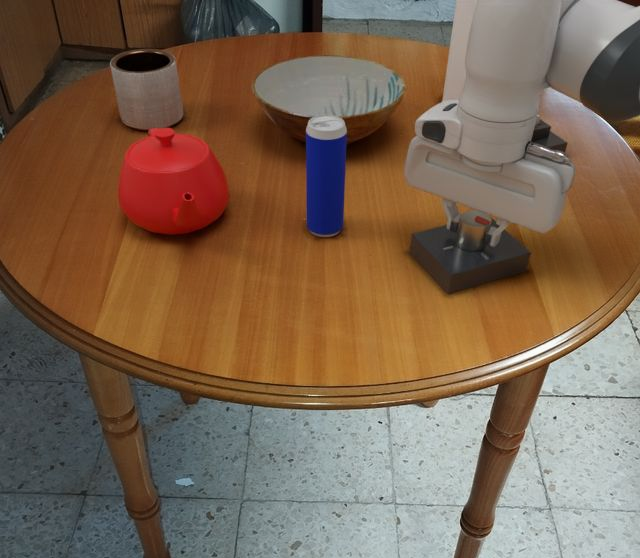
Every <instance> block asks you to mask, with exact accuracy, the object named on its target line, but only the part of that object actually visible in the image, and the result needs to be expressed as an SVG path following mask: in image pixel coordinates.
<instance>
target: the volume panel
mask: <svg viewBox="0 0 640 558" xmlns="http://www.w3.org/2000/svg"><path fill="white" fill-rule="evenodd" d="M496 222H497V220H495V219H494V218H492V217H491V225H490V228H491V227H495V228H498V227H499V226H500V225H497V224H496ZM446 227H447V224H445V225H440V226H438V227H433V228H428V229H424V230H421V231H416V232H413V233H411V238H410V244H409V254H410V255H411V257H412V258H414V259H415V261H416V262H417V263H418V264H419V265H420V266H421V267H422V268H423V270H424V271H425V272H427V274H428V275H429V276H430V277H431V278H432V279H433V280H434V281H435V282H436V283H437V284H438V286H440V287H441V288H442V289H443V291H444V292H446V294H447V295H450V294H453V293H457V292H460V291H463V290H467V289H471V288H473V287H477V286H481V285H485V284H488V283H491V282H494V281H499V280H502V279H506V278H508V277H512V276H515V275H519V274H522V273H525V272H527V270H528V266H529V263H530V258H531V254H532V251H530V250H529V249H528V248H527V247H526V246H525V245H524V244H523V243H521V242H520V241H519V240H518V239H517V238H515V237H514V236H513V235H512V234H511V233H509V231H507V230H506V228H505V229H504V230H503V231H502V233H501V237H500V240H499V243H498V244H497V245H496V246H495V247H492V246H490V245H487V244H486V246H485V247H484V248H483V249H481V250H478V251H468V250H464V249H462V248H460V247H459V246H457V244H456V242H455V239H456V234H457V233H455V232H452V231H450V230H447V229H446Z"/></svg>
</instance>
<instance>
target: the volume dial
mask: <svg viewBox="0 0 640 558" xmlns="http://www.w3.org/2000/svg"><path fill="white" fill-rule="evenodd" d="M491 218H492V216H491V215H489V214H486V213H483V212H481V211H478V210H475V209H471V210H470V209H469V210H466V211H462V212H461V213H460V217H459V223H458V228H457V234H456V239H455V242H456V244H457V246H459V247H460V248H462V249H464V250H468V251H478V250H481V249H483V248H484V247H485V246H486V244H484V243H483V242H484V239H485V233H486V232H487V231H488V230H489V229H490V225H491Z"/></svg>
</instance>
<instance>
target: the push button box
mask: <svg viewBox="0 0 640 558" xmlns="http://www.w3.org/2000/svg"><path fill="white" fill-rule="evenodd" d="M531 142H532V143H536V144H539V145H542V146H545V147H547V148H549V149H552V150H555V151H556V150H558V151H562V152H564V153H566V151H567V146H568V141H566V140H565V139H563V138H561V137H560V136H558V135H557V134H555V133H554V132H553V131H552V126H551V125H550V124H548V123H547V122H546V121H544V120H543V119H541V118H540V120H539V124H538V126H535V127H534V131H533V135H532V139H531Z"/></svg>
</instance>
